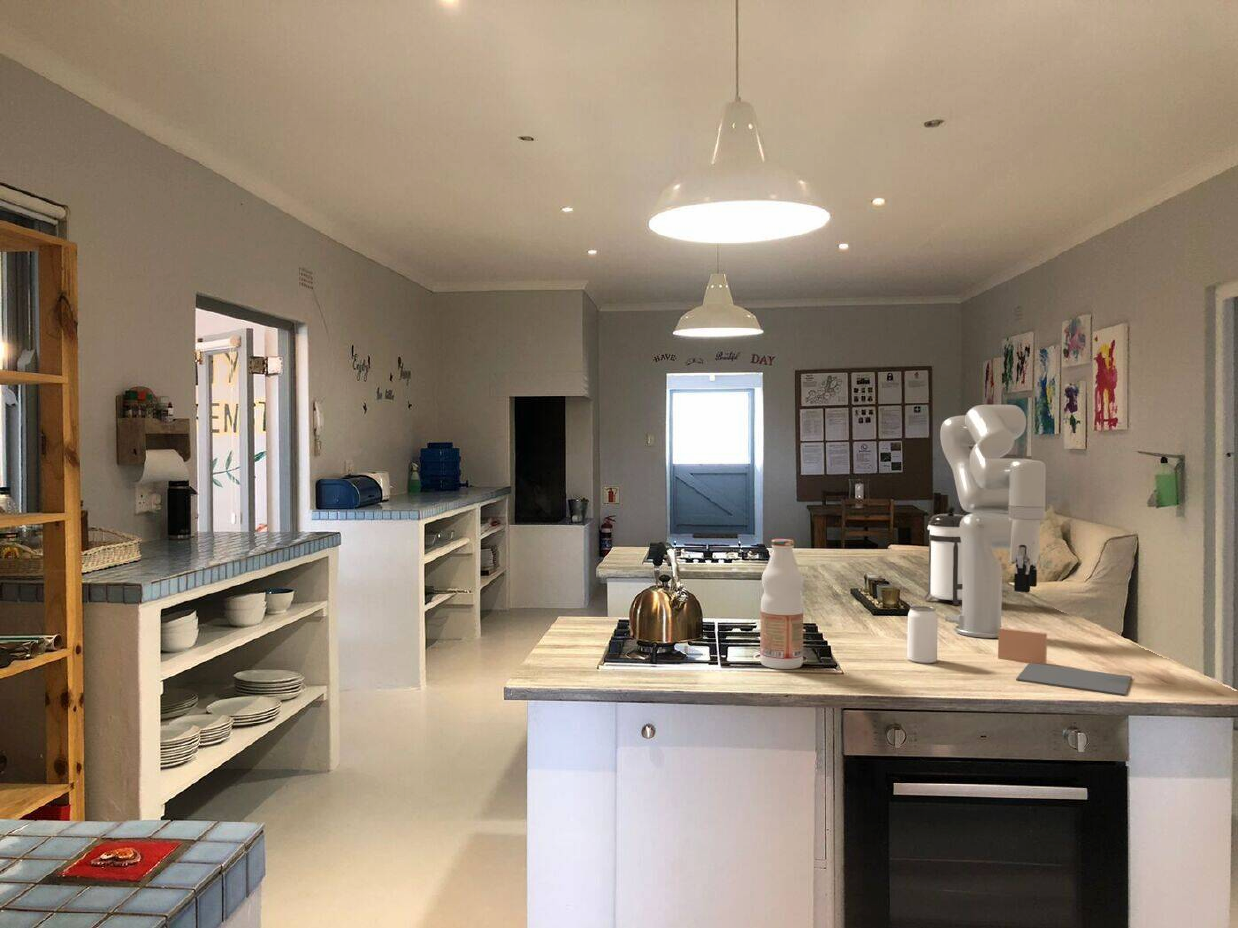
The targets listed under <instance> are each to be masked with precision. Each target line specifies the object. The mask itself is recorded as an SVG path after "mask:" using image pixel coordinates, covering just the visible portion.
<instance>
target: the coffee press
mask: <svg viewBox="0 0 1238 928" xmlns="http://www.w3.org/2000/svg"><path fill="white" fill-rule="evenodd" d="M946 512H947V513H940V514H935V515H933V516H931V518H930V521H928V526H927V530H928V531H929V534H928V541H929V542H928V588H927V590H928V591H927V593H926V595H925V596H924V601H925V602H928V603H930V602H931V600H933V599H938V600H939V599H940V600H947V601H948V600H949V601H951V603H952V606H955V607H958V606H959V601H962V586H963V554H962V544H961V537H960V530H959V528H960V522H961V520H962V518H963V517H964V516H965V515H964V514H959V513H958V514H956V513H954V512H955V507H954V506H952V505H949V506H948V507H947V508H946ZM929 595H930V596H931V597H930V598H929V599H928V600H927V598H928V596H929Z"/></svg>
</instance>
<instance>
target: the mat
mask: <svg viewBox="0 0 1238 928" xmlns="http://www.w3.org/2000/svg"><path fill="white" fill-rule="evenodd" d="M1015 680H1016V681H1017V682H1024V683H1032V684H1040V685H1045V686H1046V685H1047V686H1053V687H1060V688H1069V689H1075V690H1081V691H1087V692H1088V691H1089V692H1096V693H1101V694H1107V695H1108V694H1109V695H1114V696H1115V695H1117V696H1124V697H1126V696H1127V692H1128V689H1129V687H1130V684H1131V681H1132V675H1125V674H1117V673H1109V672H1104V671H1103V672H1102V671H1095V670H1087V669H1079V668H1078V669H1077V668H1071V667H1064V666H1056V665H1049V664H1046V665H1044V664H1036V663H1029V662H1028V664H1027V665H1026V666H1025V668H1024V669H1023V670H1022V671H1021V672H1020V673H1019V674H1018V676H1017V677H1016V679H1015Z"/></svg>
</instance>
